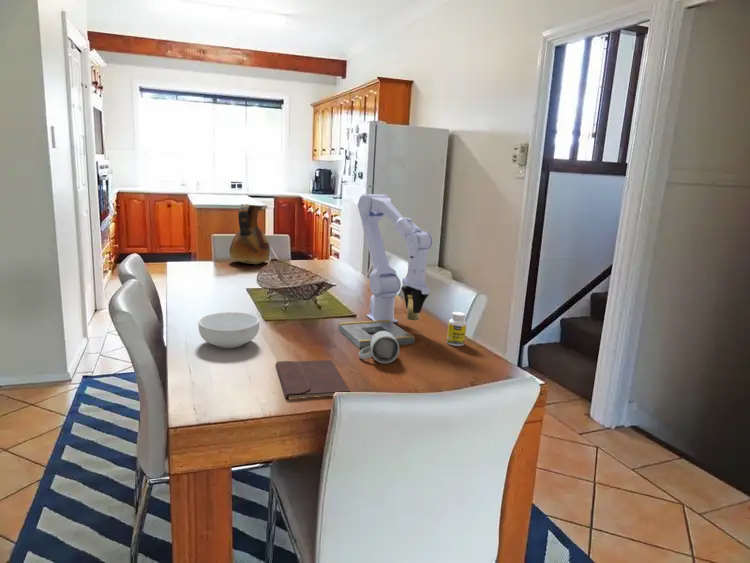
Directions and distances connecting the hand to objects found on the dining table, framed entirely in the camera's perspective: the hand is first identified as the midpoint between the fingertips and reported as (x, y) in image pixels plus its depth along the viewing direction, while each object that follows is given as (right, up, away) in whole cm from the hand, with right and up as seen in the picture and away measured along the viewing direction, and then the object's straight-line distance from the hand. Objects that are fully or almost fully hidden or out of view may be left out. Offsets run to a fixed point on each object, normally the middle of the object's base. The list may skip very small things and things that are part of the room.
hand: (413, 310), depth 170 cm
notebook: (-28, -15, -42) cm, 53 cm away
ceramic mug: (-11, -12, -24) cm, 30 cm away
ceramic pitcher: (-76, +18, +96) cm, 124 cm away
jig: (-12, -8, -6) cm, 16 cm away
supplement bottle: (+13, -10, -8) cm, 18 cm away
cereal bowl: (-54, -9, -20) cm, 59 cm away
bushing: (0, -3, 0) cm, 3 cm away
